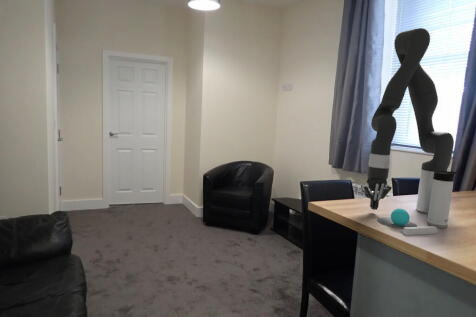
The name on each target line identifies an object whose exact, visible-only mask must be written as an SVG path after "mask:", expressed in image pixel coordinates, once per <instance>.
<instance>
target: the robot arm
mask: <svg viewBox="0 0 476 317" xmlns="http://www.w3.org/2000/svg"><path fill="white" fill-rule="evenodd" d="M430 43H431V34H430V32H429V31H428V30H427V29H426V28H424V27H418V28H412V29H408V30H405V31H401V32H399V33H398V34H397V35H396V36H395V38H394V45H393V46H394V51H395V54H396V56H397V59H398V61H399V64H400V66H399V68H398V69H397V70H396V72H395V73H394V75H393V76H392V77H391V78H390V80H389V81H388V83H387V84H386V87H385V90H384V92H383V95H382V98H381V101H380V103H379V105H378V106H377V108H376V110H375V112H374V114H373V116H372V118H371V123H370V125H371V128H372V129H373V131H375V132H376V133H375V134H376V135H375V138H374V139H373V140H372V141H371V144H370V155H369V157H368V165H367V166H368V167H367V180H366V183H365V184H362V185H360V188H361V191H363V193H364V195H365V197H366V198H368V199H370V202H369V203H370V204H369V208H370V209H371V210H378V208H379V204H380V201H381V200H384V199H385V198H386V196H387V195H388V194H389V192H390V191H391V190H392V186H390V185H388V178H389V172H390V164H391V148H392V142H393V140H394V137H395V135H396V132H397V120H396V118H395V116H394V112H396V111H397V110H399V109H400V107H401V105H402V103H403V100H404V97H405V94H406V91H407V89H408V94H409V98H410V103H411V105H412V110H413V112H414V116H415V121H416V127H417V134H418V141H419V146H420V148H421V151H423V152H424V153H426V154H430V155H431V154H432V155H433V156H432V159H430V160H428V161H424V162H422V164H421V169H420V176H419V177H420V178H419V184H418V192H417V200H416V210H417V211H418V212H420V213H425V214H428V212H429V205H430V197H431V190H432V182H433V177H434V172H437V171H448V170H449V169H448V168H449V166H450V164H451V160H452V154H453V151H454V144H455V143H454V142H455V141H454V137H453V135H452V134H451V133H449V132H446V131H435V128H434V125H433V116H434V113H435V111H436V109H437V106H438V102H439V98H438V97H439V96H438V93H437V88H436V84H435V82H434V80H433V79H432V78H431V76H430V75H429V74H428V73H427V71H425V69H424V68H423V67H422V65H421V61H422V59H423V58H424V55H425V54H426V52H427V50H428V49H429V46H430Z"/></svg>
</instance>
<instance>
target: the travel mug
mask: <svg viewBox="0 0 476 317" xmlns="http://www.w3.org/2000/svg"><path fill="white" fill-rule="evenodd" d="M456 173H457V172H456V171H453V170H452V171H451V170H450V171H449V170H447V171H437V172H434V177H433V182H432V190H431V197H430V205H429V212H428V213H427V221H426V224H427V226H434V227H437V229H446V228H447V227H448V222H449V217H450V209H451V202H452V193H453V190H454V189H453V186H454V179H455V175H456Z"/></svg>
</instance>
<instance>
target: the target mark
mask: <svg viewBox="0 0 476 317" xmlns="http://www.w3.org/2000/svg"><path fill="white" fill-rule="evenodd" d="M377 222H378V223H379V224H381V225H383V226H387V227H389V228H390V227H391V228H395V229H399V230H400V229H401V230H404V227H418V225H417V224H416V223H415V222H412V221H410V220H409V222H408V223H407V224H406V225H404V226H398V225H396V224H394V223H393V222H392V220H391V216H389V217H387V216H386V217H383V216H382V217H379V218H377Z"/></svg>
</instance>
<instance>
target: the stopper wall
mask: <svg viewBox="0 0 476 317" xmlns="http://www.w3.org/2000/svg"><path fill="white" fill-rule="evenodd" d="M402 230H403V231H402V233H403V234H404V235H406V236H410V235H433V234H434V235H435V234H437V231H438V228H437V227H434V226H430V225H427V226H417V227H404V229H402Z"/></svg>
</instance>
